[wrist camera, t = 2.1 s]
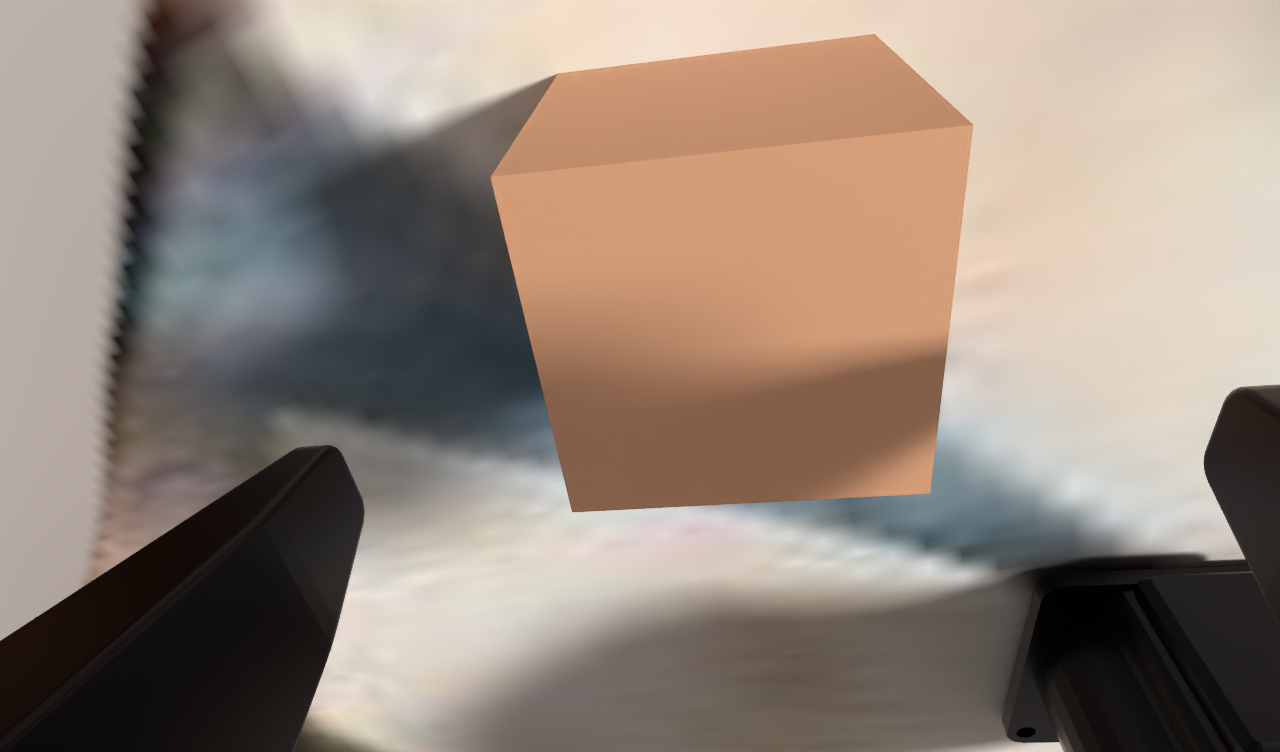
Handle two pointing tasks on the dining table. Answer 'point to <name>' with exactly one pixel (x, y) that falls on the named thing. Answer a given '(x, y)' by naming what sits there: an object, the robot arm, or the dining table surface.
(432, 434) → the dining table surface
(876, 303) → the cube
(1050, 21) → the dining table surface
